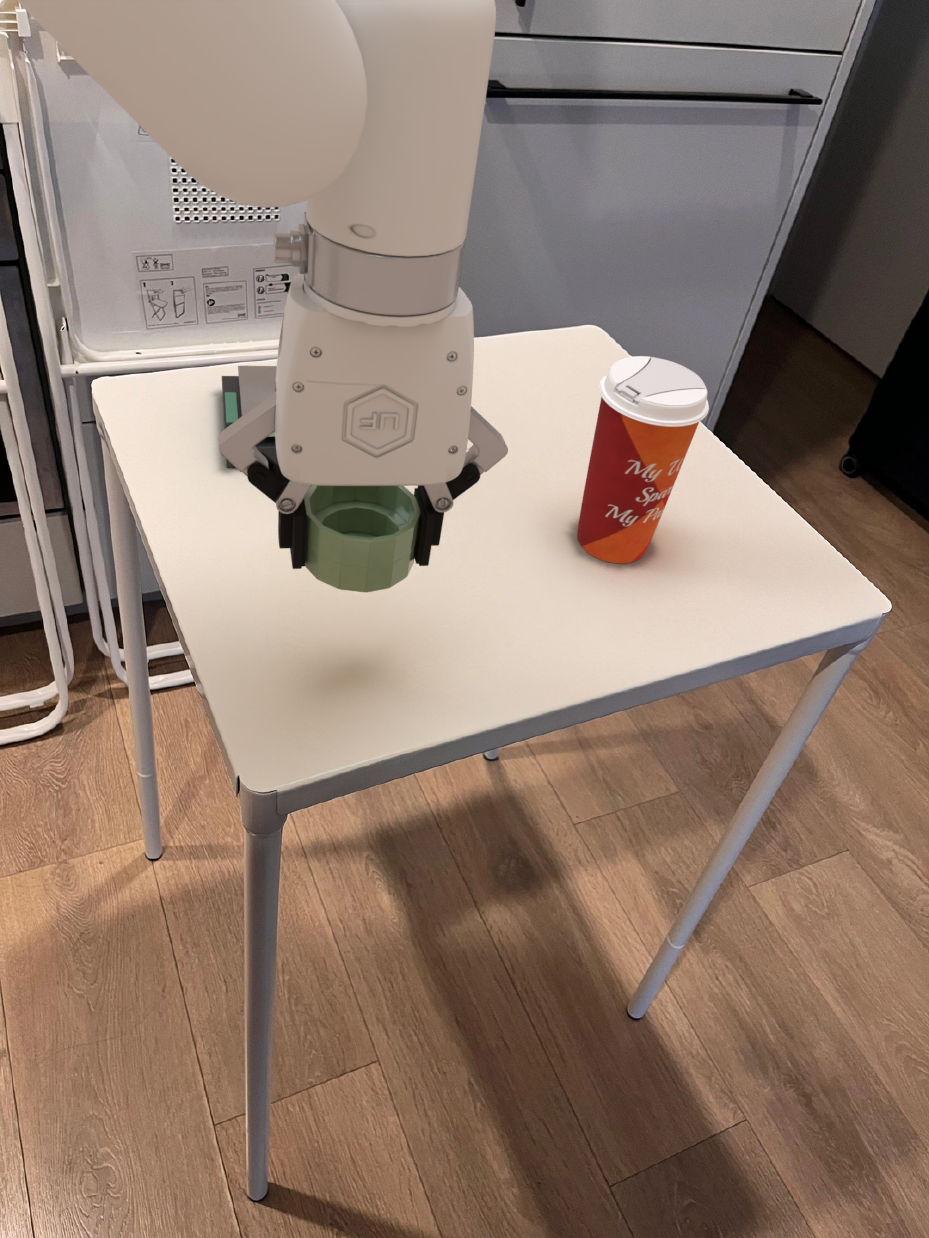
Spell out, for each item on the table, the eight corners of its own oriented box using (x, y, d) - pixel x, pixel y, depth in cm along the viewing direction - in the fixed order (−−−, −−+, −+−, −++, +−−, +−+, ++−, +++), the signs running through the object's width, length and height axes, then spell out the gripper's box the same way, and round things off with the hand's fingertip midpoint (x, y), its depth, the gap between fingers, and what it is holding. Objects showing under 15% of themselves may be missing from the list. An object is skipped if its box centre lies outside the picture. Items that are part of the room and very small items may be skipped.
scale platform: (243, 437, 79) (243, 431, 79) (238, 371, 87) (237, 365, 86) (374, 436, 82) (374, 430, 81) (358, 372, 89) (358, 366, 89)
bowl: (307, 599, 55) (309, 542, 52) (297, 527, 60) (299, 471, 57) (420, 596, 56) (429, 540, 54) (402, 526, 61) (409, 471, 58)
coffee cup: (615, 585, 75) (666, 420, 65) (542, 531, 79) (579, 367, 69) (681, 550, 80) (738, 390, 69) (609, 500, 84) (653, 342, 74)
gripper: (197, 289, 41) (211, 598, 53) (575, 307, 45) (509, 589, 57) (195, 222, 46) (209, 517, 58) (534, 244, 51) (482, 514, 62)
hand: (358, 551), depth 57 cm, fingers closed on bowl, 6 cm apart
